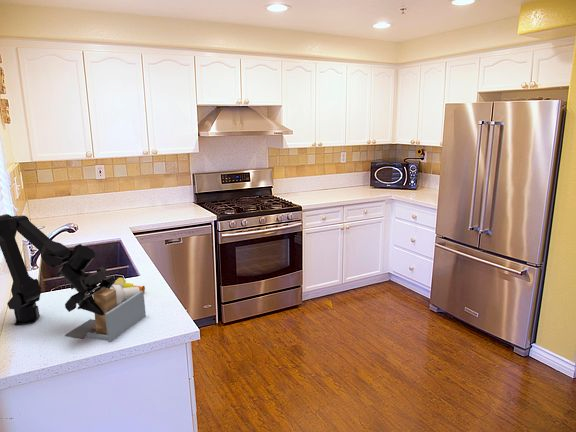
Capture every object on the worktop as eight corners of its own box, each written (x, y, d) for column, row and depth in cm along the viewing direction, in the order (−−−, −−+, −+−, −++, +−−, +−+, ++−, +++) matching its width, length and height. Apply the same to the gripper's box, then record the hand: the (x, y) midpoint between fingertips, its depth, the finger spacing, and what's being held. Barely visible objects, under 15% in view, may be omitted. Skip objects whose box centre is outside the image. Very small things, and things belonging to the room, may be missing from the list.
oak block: (86, 332, 141) (82, 291, 137) (96, 325, 145) (93, 285, 142) (108, 337, 138) (105, 295, 135) (118, 329, 143) (115, 289, 139)
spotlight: (104, 300, 164) (107, 281, 163) (131, 296, 173) (135, 279, 171) (112, 309, 159) (116, 290, 157) (140, 305, 167) (144, 287, 166)
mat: (64, 336, 139) (64, 335, 139) (90, 320, 150) (90, 319, 150) (82, 339, 137) (82, 338, 137) (107, 322, 148) (107, 321, 148)
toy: (117, 275, 180) (106, 281, 171) (150, 279, 180) (141, 285, 170) (117, 287, 181) (105, 294, 171) (149, 291, 180) (140, 298, 170)
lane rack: (85, 338, 138) (81, 310, 135) (122, 313, 155) (120, 288, 153) (110, 342, 135) (107, 314, 133) (145, 316, 153) (143, 291, 150)
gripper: (67, 272, 128) (101, 309, 128) (108, 254, 146) (138, 286, 145) (50, 293, 132) (83, 329, 132) (92, 273, 150) (121, 304, 149)
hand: (108, 311), depth 139 cm, fingers closed on oak block, 5 cm apart
